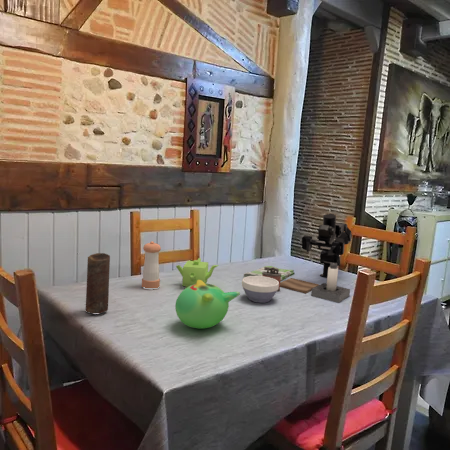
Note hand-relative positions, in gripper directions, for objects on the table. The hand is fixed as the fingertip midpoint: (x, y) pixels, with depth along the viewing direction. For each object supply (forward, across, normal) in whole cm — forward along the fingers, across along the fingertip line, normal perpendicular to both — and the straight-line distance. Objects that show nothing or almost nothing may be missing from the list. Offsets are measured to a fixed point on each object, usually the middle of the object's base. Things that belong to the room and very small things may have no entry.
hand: (317, 252), depth 189 cm
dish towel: (-3, -24, +18) cm, 30 cm away
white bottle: (+9, +9, +14) cm, 19 cm away
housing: (+9, +9, +14) cm, 19 cm away
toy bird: (+67, -18, -1) cm, 70 cm away
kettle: (+33, -42, +8) cm, 54 cm away
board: (+5, -7, +15) cm, 18 cm away
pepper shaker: (+46, -56, +5) cm, 72 cm away
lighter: (+18, -15, +12) cm, 26 cm away
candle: (+78, -53, -4) cm, 94 cm away
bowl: (+32, -14, +9) cm, 36 cm away
